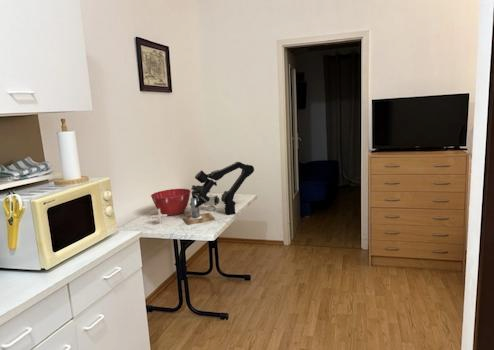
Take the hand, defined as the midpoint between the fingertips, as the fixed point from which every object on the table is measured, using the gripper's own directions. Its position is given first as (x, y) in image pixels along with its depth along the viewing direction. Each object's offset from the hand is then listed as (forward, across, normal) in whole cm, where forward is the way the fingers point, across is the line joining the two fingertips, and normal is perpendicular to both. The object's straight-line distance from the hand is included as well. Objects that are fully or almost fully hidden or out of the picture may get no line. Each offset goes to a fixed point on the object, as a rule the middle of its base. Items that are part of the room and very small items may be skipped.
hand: (192, 206), depth 250 cm
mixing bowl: (+10, -30, +4) cm, 32 cm away
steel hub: (+4, 0, +6) cm, 8 cm away
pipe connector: (+21, -11, -7) cm, 25 cm away
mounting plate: (+5, 0, +10) cm, 11 cm away
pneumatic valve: (-7, -16, +22) cm, 28 cm away
